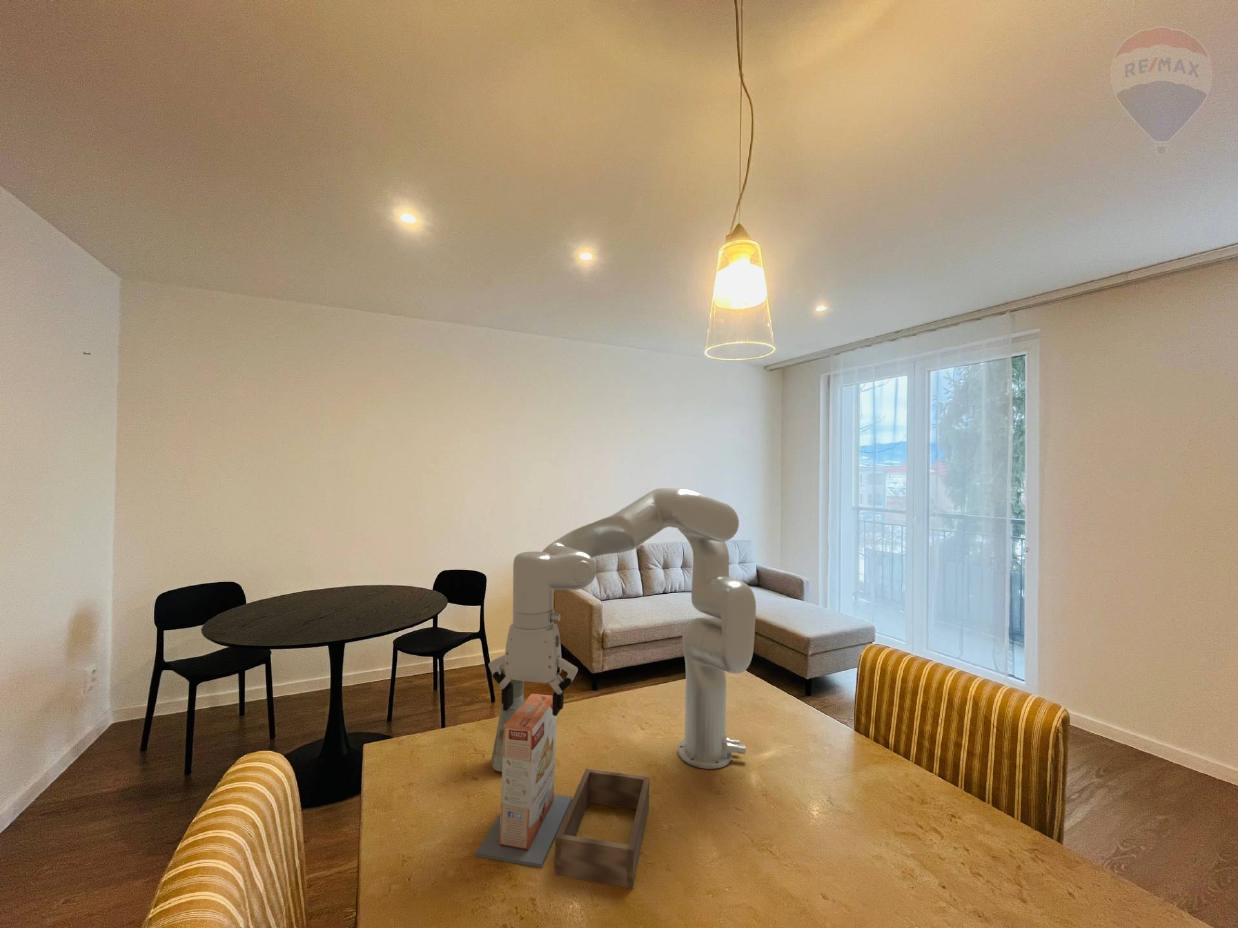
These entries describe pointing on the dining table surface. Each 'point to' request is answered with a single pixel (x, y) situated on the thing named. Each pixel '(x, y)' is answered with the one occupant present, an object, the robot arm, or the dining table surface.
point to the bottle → (503, 718)
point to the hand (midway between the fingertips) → (532, 709)
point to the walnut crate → (595, 855)
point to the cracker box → (527, 771)
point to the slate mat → (537, 848)
